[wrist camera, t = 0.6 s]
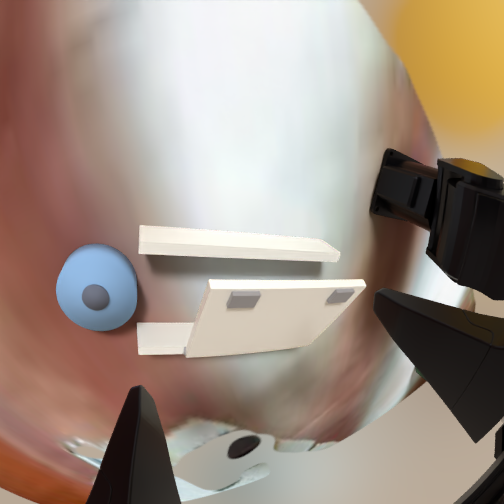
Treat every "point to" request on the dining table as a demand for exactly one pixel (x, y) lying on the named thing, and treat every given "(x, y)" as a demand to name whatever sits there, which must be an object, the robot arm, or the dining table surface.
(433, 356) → the robot arm
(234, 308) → the cover
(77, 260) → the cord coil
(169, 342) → the white channel bracket
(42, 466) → the dining table surface
